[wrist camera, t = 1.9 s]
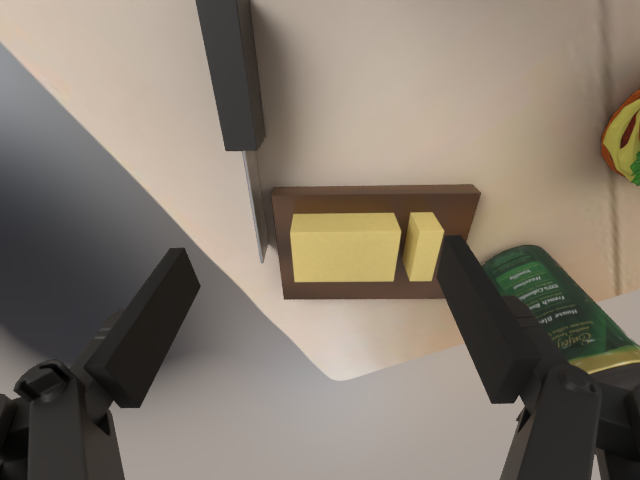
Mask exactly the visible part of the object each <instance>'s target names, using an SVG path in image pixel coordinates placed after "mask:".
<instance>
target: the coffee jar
mask: <svg viewBox="0 0 640 480" xmlns="http://www.w3.org/2000/svg"><path fill="white" fill-rule="evenodd" d="M482 268H483V269H484V271H485V272H486V274H487V275H488V277H489V278H490V280H491V282H492V283H493V285H494V286H495V288H496V289H497V291H498V292H499V294H500V295H501V296H502V295H515V296H516V297H517V298H519V299H520V300H521V301H523V302H524V303H525V304H526V305H527V306H528V307H529V309H530V310H531V311H532V313H533V314H534V317H535V318H537V320H538V321H539V322H540V324H541V327H543V328H544V329H545V331H546V332H547V333H548V335H549V336H550V338H551V339H552V340H553V342H554V343H555V344H556V346H557V347H558V349H559V350H560V351H561V353H562V354H563V356H564V357H565V358H566V360H567V361H568V362H569V363H570V364H571V365H574V366H577V367H579V368H581V369H582V370H584V371H586V372H587V373H588V374H590V375H591V376H592V377H593V378H594V379H595V380H596V381H598V382H601V383H605V384H609V385H613V386H616V387H620V388H624V389H628V390H632V389H633V388H634V387H635V386H636V385H637V384H640V346H639V345H638V344H637V343H635V342H634V341H633V340H632V339H631V338H630V337H629V336H628V335H627V334H626V333H625V332H624V331H623V330H622V329H621V328H620V327H619V326H618V325H617V324H616V323H615V322H614V321H613V320H612V319H611V318H610V317H609V316H608V315H607V314H606V313H605V312H604V311H603V310H602V309H601V308H600V307H599V306H598V305H597V304H596V303H595V302H594V301H593V300H592V299H591V298H590V297H589V296H588V295H587V294H586V293H585V292H584V291H583V290H582V289H581V288H580V286H579V285H578V284H577V283H576V282H575V281H574V280H573V279H572V278H571V277H570V276H569V275H568V274H567V273H566V272H565V271H564V270H563V269H562V268H561V266H560V265H559V264H558V263H557V262H556V261H555V260H554V259H553V258H552V257H551V256H550V255H549V254H548V253H547V252H546V251H545V250H544V249H542V248H541V247H538V246H535V245H524V246H520V247H515V248H512V249H509V250H506V251H503V252H502V253H499V254H497V255H496V256H494V257H493V258H491V259H490V260H489V261H487V262H486V263H485V264H484V265H483V266H482ZM594 454H595V455H596V449H595V452H594Z"/></svg>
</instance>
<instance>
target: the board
mask: <svg viewBox="0 0 640 480" xmlns="http://www.w3.org/2000/svg"><path fill="white" fill-rule="evenodd" d="M480 195H481V192H480V191H479V190H478V189H477V188H476V187H475V186H474V185H472V184H470V185H400V186H329V187H274V189H273V192H272V195H271V198H272V206H273V215H274V223H275V231H276V239H277V247H278V255H279V263H280V271H281V279H282V287H283V295H284V299H436V298H445V296H444V294H443V292H442V289H441V287H440V285H439V282H438V280H437V278H436V277H437V272H438V267H439V262H440V257H441V253H442V248H443V243H444V238H445V236H447V235H462V237H463V239H464V240H465V242H466V240H467V237H468V233H469V230H470V227H471V224H472V221H473V217H474V214H475V211H476V208H477V204H478V201H479V198H480ZM411 212H433V214H434V215H435V217H436V219H437V220H438V222H439V223H440V225H441V227H442V228H443V230H444V234H443V238H442V242H441V246H440V250H439V254H438V258H437V262H436V265H435V269H434V273H433V277H432V281H410V280H409V278H408V275H407V272H406V269H405V266H404V264H403V261H402V258H403V253H404V247H405V241H406V235H407V229H408V224H409V218H410V213H411ZM330 213H394V214H395V217H396V219H397V222H398V224H399V227H400V229H401V237H400V244H399V250H398V256H397V263H396V269H395V275H394V281H381V282H295V281H294V270H293V259H292V248H291V237H290V231H291V225H292V219H293V214H330Z"/></svg>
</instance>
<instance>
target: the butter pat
mask: <svg viewBox="0 0 640 480" xmlns="http://www.w3.org/2000/svg"><path fill="white" fill-rule="evenodd" d="M443 234H444V230H443V228H442V227H441V225H440V223H439V222H438V220H437V219H436V217H435V215H434V214H433V212H411V213H410V218H409V224H408V229H407V235H406V241H405V247H404V253H403V258H402V261H403V264H404V266H405V269H406V272H407V275H408V278H409V280H410V281H432V277H433V273H434V269H435V265H436V262H437V258H438V254H439V250H440V246H441V242H442V238H443Z"/></svg>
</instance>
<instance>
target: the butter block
mask: <svg viewBox="0 0 640 480" xmlns="http://www.w3.org/2000/svg"><path fill="white" fill-rule="evenodd" d="M290 237H291V248H292V259H293V270H294V281H295V282H381V281H394V275H395V269H396V263H397V256H398V250H399V244H400V237H401V229H400V227H399V224H398V222H397V219H396V217H395V214H394V213H330V214H293V219H292V225H291V231H290Z"/></svg>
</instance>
